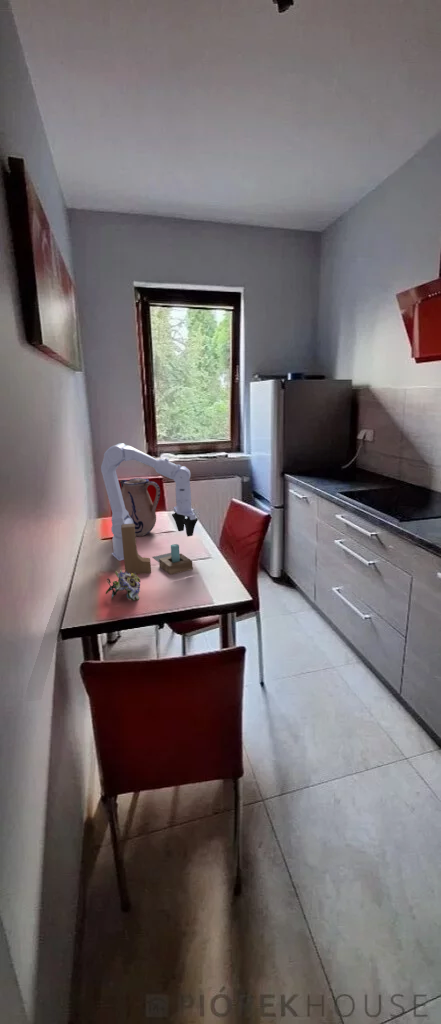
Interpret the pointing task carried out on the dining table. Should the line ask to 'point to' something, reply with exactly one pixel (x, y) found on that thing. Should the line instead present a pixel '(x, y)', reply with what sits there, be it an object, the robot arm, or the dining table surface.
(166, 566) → the hole block
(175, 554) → the peg
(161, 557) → the mat
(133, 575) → the passion flower
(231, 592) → the dining table surface
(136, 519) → the ceramic pitcher
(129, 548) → the wooden block
